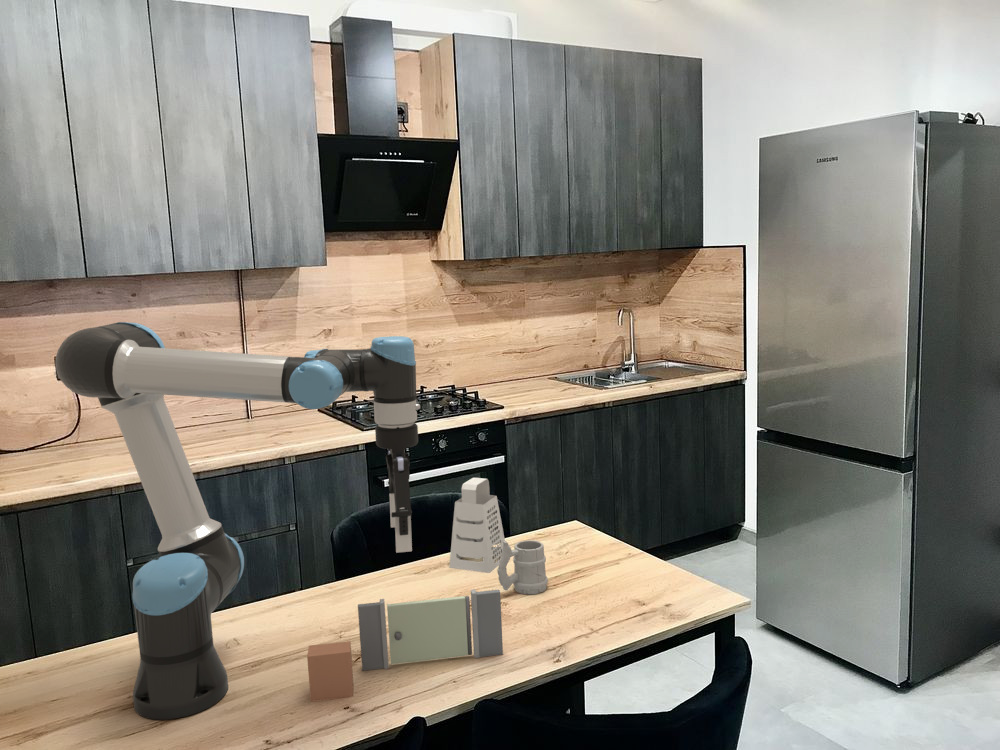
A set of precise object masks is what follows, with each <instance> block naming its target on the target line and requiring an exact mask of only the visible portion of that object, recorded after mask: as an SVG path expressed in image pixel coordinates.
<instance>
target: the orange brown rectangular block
mask: <svg viewBox="0 0 1000 750" xmlns="http://www.w3.org/2000/svg"><path fill="white" fill-rule="evenodd" d="M352 659H353V658H352V646H351V640H348V641H340V642H331V643H330V642H329V643H322V644H321V643H320V644H314V645H308V650H307V669H308V670H307V671H308V682H309V694H310V696H309V697H310V702H311V703H312V702H318V701H324V700H325V701H327V700H334V699H335V700H336V699H342V698H351V697H354V685H355V684H354V674H353V673H354V672H353V671H354V670H353V660H352Z"/></svg>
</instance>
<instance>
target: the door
mask: <svg viewBox="0 0 1000 750" xmlns="http://www.w3.org/2000/svg"><path fill="white" fill-rule="evenodd" d="M470 601H471V598H470V595H466V596H464V595H461V596H453V597H443V598H433V599H424V600H415V601H414V600H413V601H406V602H404V601H403V602H395V603H387V604H386V610H387V611H386V613H387V623H388V624H387V625H388V627H387V629H388V641H389V654H390V657H389V658H390V665H398V664H399V665H400V664H406V663H407V664H408V663H415V662H417V663H418V662H424V661H433V660H440V659H441V660H442V659H451V658H459V657H466V656H467V657H468V656H472V654H473V644H472V643H473V639H472V624H471V623H472V622H471V621H472V619H471V605H470V603H471V602H470Z"/></svg>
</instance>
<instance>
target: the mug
mask: <svg viewBox="0 0 1000 750" xmlns="http://www.w3.org/2000/svg"><path fill="white" fill-rule="evenodd" d="M513 547H514V549H512V548H511V545H510V544H509V542H507V541H503V551H502V555H501V559H500V558H499V560H500V563H499V565H498V566H497V568H496V569H497V570H496V571H497V575H498V582H499V584H500V586H501V587H502V589H503V591H508V590H509V589H510V588H511V586H512V585H513V586H514V590H515V591H516V592H517V593H518V594H522V595H530V596H531V595H537V594H540V593H543V592H545V591H546V590H547V585H548V583H549V579H548V577H547V573H546V560H547V557H546V556H545V547H544V543H542V542H540V541H538V540H535V539H534V540H533V539H531V540H530V539H528V540H527V539H526V540H521V541H519V542H516V543H515V544H514V546H513ZM512 557H513V558H512ZM511 558H512V559H513V560H512V561H513V565H514V566H513V567H514V572H513V573H512V574H511V575H509V574H508V571H507V566H508V563H509V562H510V560H511Z"/></svg>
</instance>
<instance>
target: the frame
mask: <svg viewBox="0 0 1000 750" xmlns="http://www.w3.org/2000/svg"><path fill="white" fill-rule="evenodd" d="M501 599H502V597H501V591H500V589H492V590H483V591H482V590H481V591H476V589H470V601H471V602H470V603H471V605H470V607H471V621H472V622H471V623H472V624H471V628H472V643H473V644H472V648H473V656H474V659H480V658H482V657H492V656H499V655H504V649H503V648H504V647H503V624H502V623H503V622H502V604H501V603H502V600H501ZM385 602H386V601H385V598H379V601H378V602H377V601H376V602H368V603H358V604H357V612H358V614H357V615H358V628H359V629H358V630H359V643H360V659H361V670H362V671H363V672H366V671H373V670H379V669H380V670H381V669H384V670H388V669H390V666H389V665H390V664H389V653H388V652H389V651H388V649H389V648H388V636H387V635H388V634H387V621H386V617H387V616H386V606H385V605H386V604H385Z"/></svg>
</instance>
